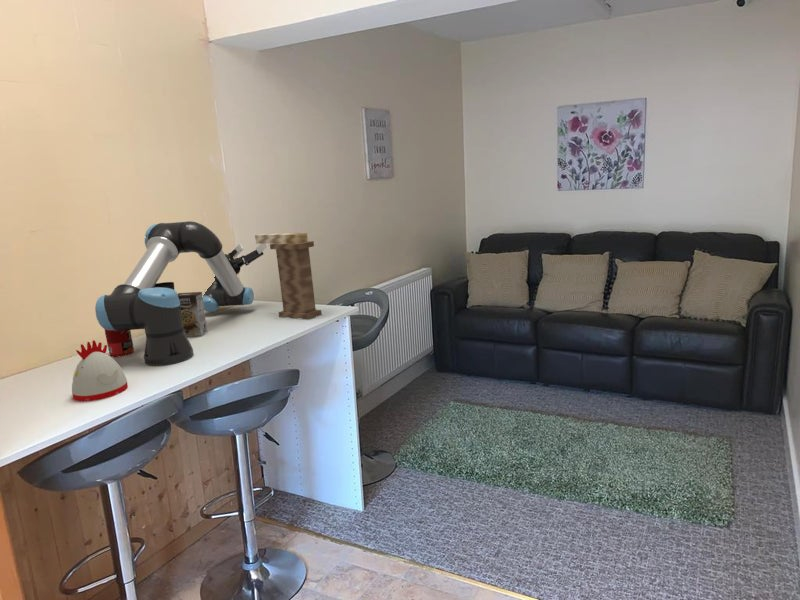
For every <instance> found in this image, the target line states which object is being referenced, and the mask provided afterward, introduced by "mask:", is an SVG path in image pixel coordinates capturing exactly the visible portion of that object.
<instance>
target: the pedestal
mask: <svg viewBox="0 0 800 600" xmlns="http://www.w3.org/2000/svg"><path fill="white" fill-rule="evenodd" d="M314 242H315V241H312V240H311V241H310V240H308V242H304V243H299V244H286V243H276V244H269V248H270V250H275V254H276V260H277V269H278V277H279V287H280V294H281V301H282V308H283V310H281V311H279V312H278V317H279V318H285V317H290V318H289V319H297V318H302V319H301V320H308V319H309V320H311V319H314V318H316V316H317V317H319V316H322V309H316V308H317V307H316V299H315V292H314V283H313V274H312V273H313V272H312V267H311V266H312V265H311V256H310V248H314V247H315V243H314ZM313 317H314V318H313Z"/></svg>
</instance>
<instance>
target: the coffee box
mask: <svg viewBox="0 0 800 600" xmlns="http://www.w3.org/2000/svg"><path fill="white" fill-rule="evenodd" d="M177 294H178V297H179V301H180V308H181V314H182V321H183V328H184V333H185V335H186V337H187V338H195V337H196V338H197V337H198V336H201V337H203V336H204V335H206V334H207V333H208V328H207V327H208V325H207V320H206V313H205V312H206V311H205V310H204V305H203V297H202V296H203V292H202V291H195V292H194V291H193V292H179V293H177ZM206 332H207V333H206ZM205 333H206V334H205ZM202 335H203V336H202Z"/></svg>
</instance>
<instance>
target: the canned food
mask: <svg viewBox="0 0 800 600" xmlns="http://www.w3.org/2000/svg"><path fill="white" fill-rule="evenodd" d="M131 331H132V330H121V331H115V330H106V329H104V334H105V340H106V345H107V349H108V353H109V354H108V355H109V356H110V357H112V356H113V357H112V358H117V357H118V356H120V357H125V355H126V356H129V355H131V354H133V353H134V352H135V351H134V349H135V348H134V344H133V338H132V332H131ZM128 354H129V355H128ZM118 358H119V357H118Z"/></svg>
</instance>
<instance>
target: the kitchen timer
mask: <svg viewBox="0 0 800 600" xmlns="http://www.w3.org/2000/svg"><path fill="white" fill-rule="evenodd" d="M91 343H92V345H91ZM107 349H108V345H107V344H104V346H103V349H102V342H98V344H97V342H96V340H93V339H92V342H90V341H87V342H86V347H85V345H84V344H80V350H81V351H80V350H78V349H75V351H76V353H77V354H78V356H80V360H79V362H78V364H77V365H76V367H75V370H74V373H73V377H72V384H71V393H72V394H71V395H72V399H74V401H77V402H94V401H99V400H103V399H104V400H105V399H108V398H111V397H114V396H117V395H119V394H122V393H123V392H125V391H126V390H127V389H128V380H127V377H126V375H125V373H124V371H123V369H122V368H121V365H119V363H118V362H117V360H115V359H114V357H112V356H110V354H107Z"/></svg>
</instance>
